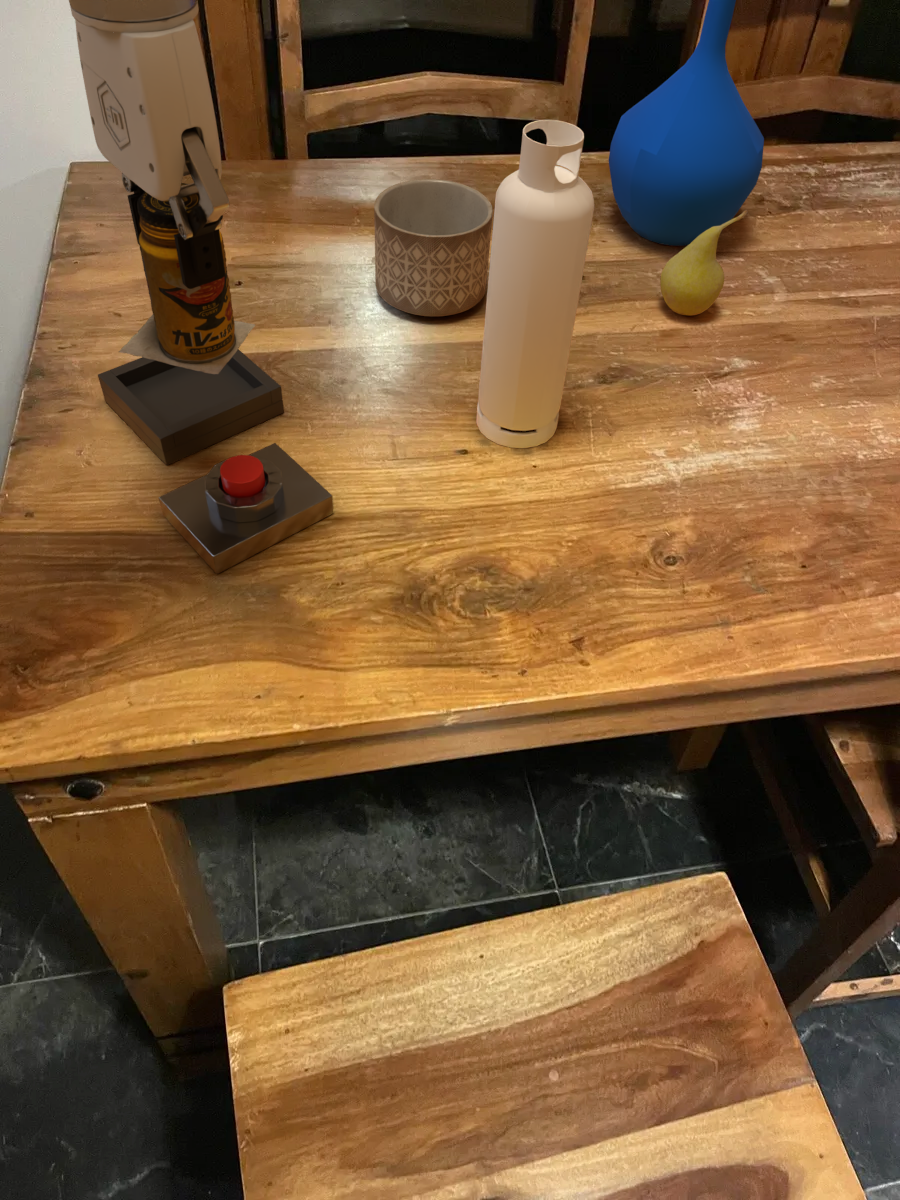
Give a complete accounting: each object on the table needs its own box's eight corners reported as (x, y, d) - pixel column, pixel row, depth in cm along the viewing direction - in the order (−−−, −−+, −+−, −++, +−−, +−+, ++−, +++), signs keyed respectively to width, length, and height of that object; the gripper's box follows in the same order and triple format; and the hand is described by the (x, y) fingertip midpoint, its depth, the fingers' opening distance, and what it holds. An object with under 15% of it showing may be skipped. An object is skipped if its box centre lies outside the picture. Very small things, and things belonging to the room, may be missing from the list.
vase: (760, 262, 116) (850, -14, 93) (617, 266, 113) (674, -15, 91) (713, 191, 127) (783, -69, 105) (583, 194, 125) (625, -72, 102)
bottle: (516, 386, 97) (551, 102, 76) (573, 425, 93) (627, 137, 72) (459, 418, 93) (479, 127, 72) (516, 459, 89) (555, 166, 68)
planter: (404, 335, 102) (406, 246, 94) (357, 278, 109) (355, 190, 101) (505, 310, 106) (514, 222, 98) (453, 256, 113) (458, 170, 105)
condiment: (218, 376, 72) (196, 229, 63) (118, 353, 74) (82, 205, 64) (256, 327, 77) (240, 183, 68) (162, 306, 78) (134, 162, 69)
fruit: (648, 293, 110) (672, 193, 101) (710, 293, 111) (739, 194, 101) (662, 326, 106) (688, 225, 96) (726, 325, 106) (758, 224, 97)
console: (216, 574, 78) (210, 541, 75) (162, 515, 82) (153, 481, 79) (333, 513, 83) (331, 480, 80) (277, 460, 88) (273, 426, 85)
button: (237, 504, 78) (234, 489, 77) (214, 481, 80) (211, 466, 79) (273, 486, 80) (271, 471, 79) (250, 464, 82) (248, 449, 80)
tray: (166, 466, 86) (160, 439, 84) (105, 401, 92) (97, 374, 90) (284, 412, 92) (281, 386, 90) (219, 355, 98) (215, 328, 95)
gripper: (10, -47, 58) (82, 227, 72) (142, 41, 50) (195, 332, 64) (121, -64, 62) (170, 201, 75) (262, 16, 53) (288, 298, 67)
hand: (181, 259), depth 69 cm, fingers closed on condiment, 6 cm apart
